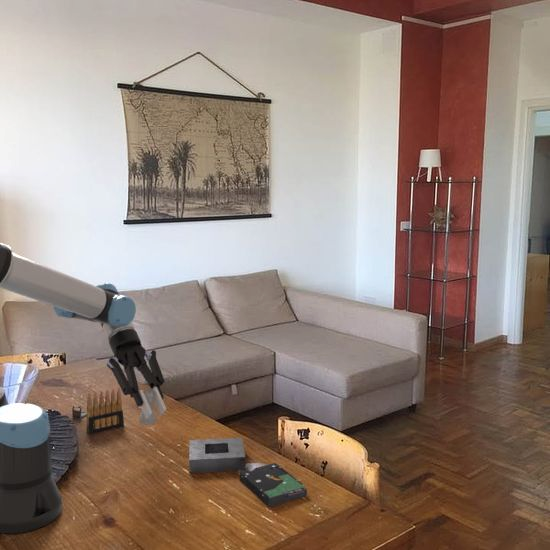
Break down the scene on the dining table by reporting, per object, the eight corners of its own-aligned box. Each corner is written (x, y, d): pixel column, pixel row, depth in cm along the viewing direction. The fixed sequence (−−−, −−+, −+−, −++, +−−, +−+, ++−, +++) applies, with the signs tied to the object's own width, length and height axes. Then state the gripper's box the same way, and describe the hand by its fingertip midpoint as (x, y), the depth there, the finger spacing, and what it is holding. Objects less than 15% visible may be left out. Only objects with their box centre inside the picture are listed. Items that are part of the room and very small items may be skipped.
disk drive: (238, 482, 146) (269, 509, 133) (238, 471, 145) (269, 497, 133) (275, 472, 151) (308, 497, 138) (275, 462, 151) (308, 485, 138)
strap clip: (80, 414, 190) (80, 401, 189) (89, 414, 189) (88, 401, 189) (65, 424, 182) (64, 410, 181) (74, 425, 181) (73, 411, 180)
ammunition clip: (121, 424, 181) (120, 386, 179) (124, 426, 179) (122, 387, 177) (86, 432, 174) (84, 393, 173) (88, 434, 173) (86, 394, 171)
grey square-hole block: (245, 470, 151) (245, 456, 151) (189, 473, 149) (189, 460, 149) (242, 449, 163) (242, 437, 162) (190, 452, 161) (189, 440, 161)
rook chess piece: (158, 418, 153) (158, 388, 152) (155, 425, 148) (155, 394, 147) (141, 418, 153) (140, 388, 152) (137, 425, 148) (137, 394, 147)
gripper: (144, 339, 165) (178, 413, 155) (88, 348, 154) (120, 429, 144) (154, 323, 160) (190, 399, 150) (97, 332, 149) (131, 414, 139)
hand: (156, 413), depth 147 cm, fingers closed on rook chess piece, 3 cm apart
